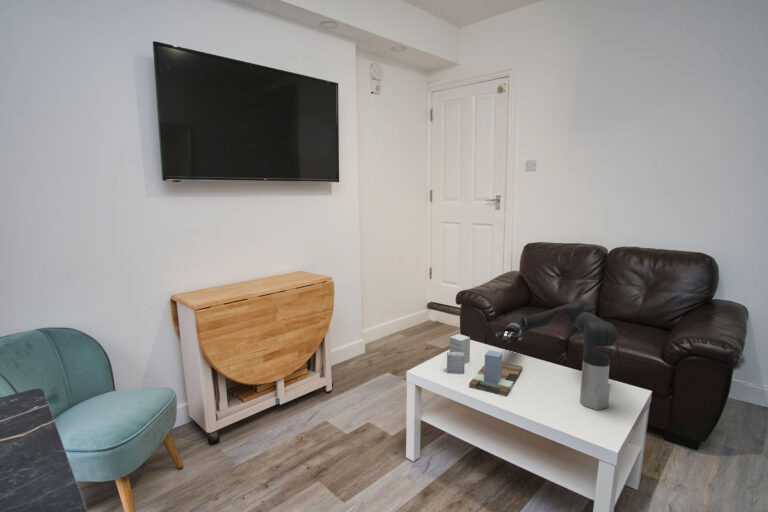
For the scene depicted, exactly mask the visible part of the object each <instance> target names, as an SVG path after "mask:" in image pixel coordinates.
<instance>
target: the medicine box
mask: <svg viewBox="0 0 768 512" xmlns="http://www.w3.org/2000/svg"><path fill="white" fill-rule="evenodd" d="M464 360H465V356H464V353H461V352H450V351H447V352H446V373H447V372H450V373H451V374H465V363H464Z"/></svg>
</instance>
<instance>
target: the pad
mask: <svg viewBox="0 0 768 512" xmlns="http://www.w3.org/2000/svg"><path fill="white" fill-rule="evenodd" d="M472 379H477V380H480V384H483V385H487V386H491V387H496V388H500V389H501V388H502V386H503V385H504V386H508V387H510V392H511V390H512V388H514V385H513V381H509V380H504V379H501V380H500V382H499V383H498V384H495V383H491V382H486V381H484V375H482V374H477V373H476V374H475V376H474V377H473V378H472Z"/></svg>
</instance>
